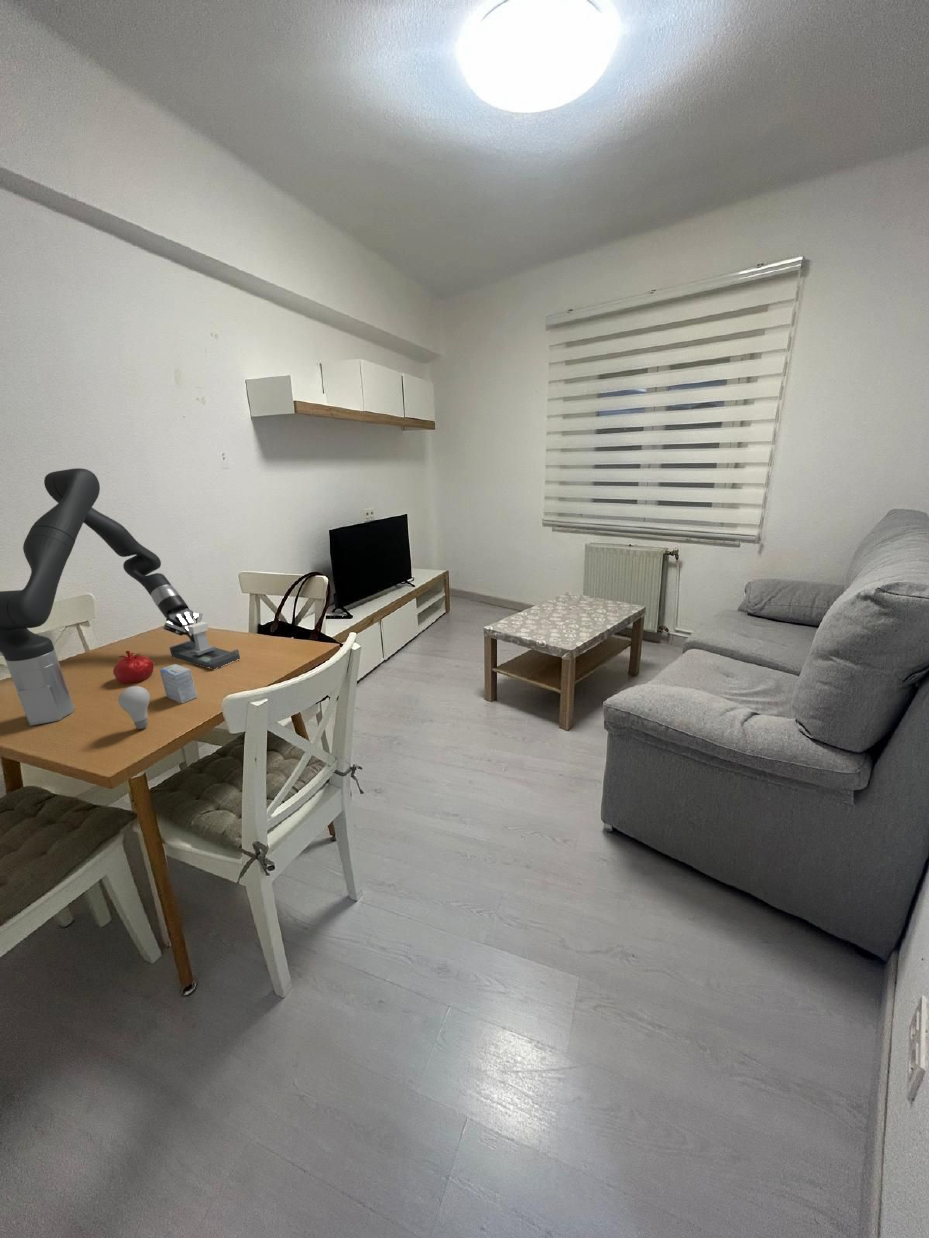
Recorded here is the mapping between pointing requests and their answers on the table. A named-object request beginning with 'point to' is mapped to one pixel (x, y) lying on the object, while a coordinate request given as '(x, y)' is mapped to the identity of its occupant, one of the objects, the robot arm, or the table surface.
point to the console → (203, 655)
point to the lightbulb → (136, 704)
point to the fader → (200, 638)
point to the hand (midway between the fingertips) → (198, 641)
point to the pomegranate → (133, 668)
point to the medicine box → (178, 683)
